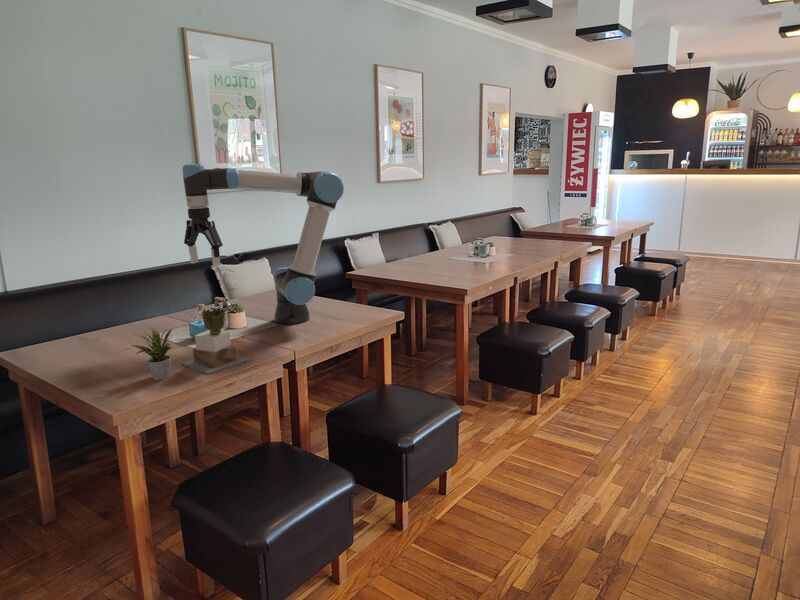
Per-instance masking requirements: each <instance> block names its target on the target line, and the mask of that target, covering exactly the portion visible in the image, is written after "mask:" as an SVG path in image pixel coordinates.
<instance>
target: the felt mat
mask: <svg viewBox="0 0 800 600" xmlns="http://www.w3.org/2000/svg"><path fill="white" fill-rule="evenodd" d="M236 359H237V360H235V361H232V362H229V363H226V364H223V365H220V366H217V367H214V368H208V367H206V366H203V365H200V364H198V363H195V362H194V358H193V359H190V360H187V361H183V362H181V365H182V366H184V367H187V368H189V369H192V370H195V371H198V372H200V373H203V374H205V375H207V376H209V375H212V374H215V373H218V372H221V371H224V370H226V369H229V368H232V367H235V366H238V365H242V364H244V363H247V362H249V361H250V359H249V358H246V357H243V356H240V355H237V354H236Z"/></svg>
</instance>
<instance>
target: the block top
mask: <svg viewBox="0 0 800 600" xmlns="http://www.w3.org/2000/svg"><path fill="white" fill-rule="evenodd" d="M220 330H221V333H220V334H218V335H211V334H210V330H208V331H205V332H203V333H200V334H197V335H195V339H194V341H195V348H196V349H197V350H203V351H209V352H217V351H219V350H221V349H224V348H226V347H228V346H230V345H232V340H231V339H232V338H231V331H230V330H224V329H220Z"/></svg>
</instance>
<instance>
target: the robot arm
mask: <svg viewBox="0 0 800 600" xmlns="http://www.w3.org/2000/svg"><path fill="white" fill-rule="evenodd" d="M182 178H183V185H184V193H185V198H186V199H185V200H186V207H187V208H188V209H187V215H188V219H187V220H185V221H186V229H185V234H184V239H183V243H184V245H186V246H187V247H188V252H189V258H190V259H189V260H190V264H196V263H199V256H198V249H197V244H196V242H197V239H198V237H199V234H202V235H204V237H205V238H206V240H207V242H208V243H209V245H210V247H211V248H210V253H211V261H212V267H217V266H218V267H219V266H221V258H220V256H221V254H220V247H223V246H224V245H223V241H222V240H221V237H220V235H219V233H218V232H219V231H218V230H217V228H216V224H215V221H214V220H210V221H209V218H211V212H210V208H209V207H208V206H209V205H210V204H209V197H208V191H214V190H216V191H218V190H241V191H242V190H244V191H256V192H257V191H258V192H259V191H260V192H270V193H271V192H272V193H285V194H286V193H287V194H295V195H296V196H297V197H305V198H306V203H307V205H308V209H307V211H306V212H307V213H306V217H305V220H304V223H303V226H302V230H301V234H300V238H299V242H298V244H297V248H296V252H295V255H294V259H293V263H292V264H291V265H289V266H283V267H278V268H276V269H274V279H275V280H274V281H275V292H276V295H275V296H276V307H275V312H274V316H273V318H274V319H273V320H274V322H275V323H277V324H282V325H294V324H295V325H296V324H300V323H305V322H308V321H309V320H310V319H311V317H310V311H309V309H308V306H307V304H308V303H309V302H311V300H312V299H313V298H314V296H315V294H316V287H315V282H316V281H315V280H316V277H317V273H316V271H315V267H316V264H317V259H318V258H319V257H318V256H319V253H320V249H321V247H322V246H321V245H322V242H323V239H324V235H325V231H326V228H327V225H328V221H329V217H330V214H331V212H333V211H335V209H336V206H337V203H338V201H339V200H340V199H341V198H342V196H343V194H344V191H345V190H344V189H345V188H344V183H343V180H342V179H341V177H340V176H339V175H337V174H336V173H333V172H332V171H325V170H324V171H311V172H302V171H301V172H299V171H298V172H297V173H295V174H293V173H282V172H280V173H279V172H269V171H256V170H254V171H253V170H245V169H244V170H242V169H237V168H235V167H233V168H232V167H225V168H220V167H214V168H210V169H207V168H205V166H204V164H202V163H196V164H195V163H193V164H192V163H191V164H185V165H183V166H182Z"/></svg>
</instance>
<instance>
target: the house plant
mask: <svg viewBox="0 0 800 600" xmlns="http://www.w3.org/2000/svg"><path fill="white" fill-rule="evenodd" d="M176 328H177V326H176V327H172V328H171V329H166V330H164V331H163V332H162V334H160V332H159V331H158V330H154V328H153V327H151V330H150V331H151V333H152V336H151V335H150V334H148V333H146V332H143V334H145V335H146V336H148V337H149V338H150V339H149V338H148V337H146V336H144V335H140V334H136V336H137V337H138V338H140V339H143V340H145V341H146V342H145V341H143V340H142V342H143V343H145V344H146V345H148V347H147V346H143V345H138V344H130V346H131V347H134V348H136V349H138V352H136V353H135V355H137V354H139V353H140V354H141V353H145V354H147V355H148V356H150V357H149V358H148V359H146V361H147V365H148V367H149V370H150V373H151V377H152V379H153V380H155V381H159V380H161V381H162V380H167V379H168V378H169V377H171V366H172V365H171V362H172V361H171V360H172V357H171V355H167V352H169V350H171V349H175V350H176V348H175V347H173V346H171V345H174V343H168V342H169V341H170V339H171V338H172V336H170V335H171V333H172V331H173V330H174V329H176ZM165 332H166V333H165ZM164 334H165V336H164ZM140 339H137V338H136V340H137V341H140ZM162 339H163V342H162Z"/></svg>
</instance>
